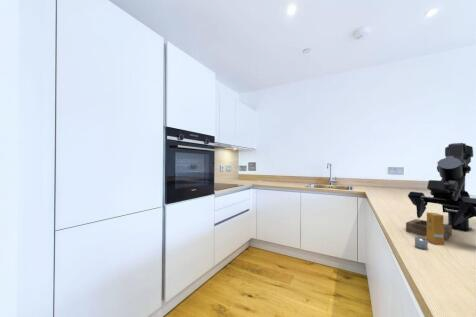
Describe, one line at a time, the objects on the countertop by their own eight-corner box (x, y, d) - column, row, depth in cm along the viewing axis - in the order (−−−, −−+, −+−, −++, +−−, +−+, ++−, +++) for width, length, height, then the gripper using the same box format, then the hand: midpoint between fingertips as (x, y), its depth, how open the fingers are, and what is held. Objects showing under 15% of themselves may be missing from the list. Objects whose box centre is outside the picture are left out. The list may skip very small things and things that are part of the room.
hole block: (416, 226, 83) (416, 218, 83) (452, 234, 74) (451, 225, 74) (406, 231, 77) (405, 222, 77) (443, 240, 68) (443, 230, 68)
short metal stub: (417, 245, 64) (416, 236, 64) (429, 248, 62) (428, 239, 62) (413, 247, 63) (413, 238, 63) (425, 251, 60) (425, 241, 60)
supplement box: (445, 245, 64) (444, 215, 65) (433, 244, 65) (432, 214, 65) (437, 241, 68) (436, 212, 68) (425, 240, 68) (425, 212, 69)
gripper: (409, 171, 78) (393, 200, 73) (481, 173, 60) (466, 212, 56) (421, 190, 80) (406, 219, 76) (492, 196, 63) (479, 235, 59)
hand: (434, 220), depth 67 cm, fingers open, 9 cm apart
